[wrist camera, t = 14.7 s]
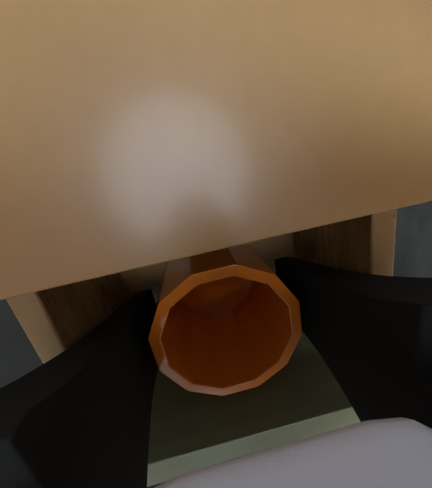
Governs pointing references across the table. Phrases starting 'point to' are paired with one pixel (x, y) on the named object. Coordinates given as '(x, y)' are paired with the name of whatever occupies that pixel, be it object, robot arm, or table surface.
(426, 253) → the table surface
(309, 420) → the drawer
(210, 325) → the orange cup
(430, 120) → the cabinet
